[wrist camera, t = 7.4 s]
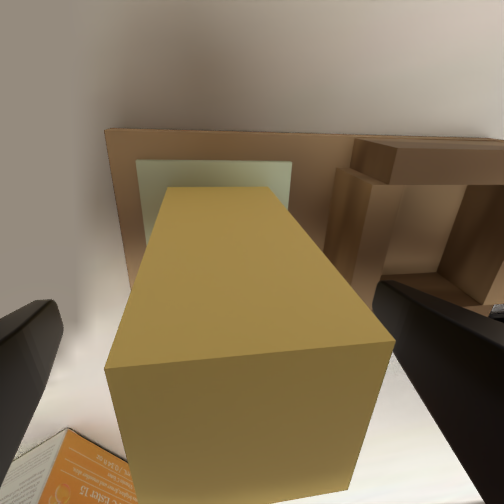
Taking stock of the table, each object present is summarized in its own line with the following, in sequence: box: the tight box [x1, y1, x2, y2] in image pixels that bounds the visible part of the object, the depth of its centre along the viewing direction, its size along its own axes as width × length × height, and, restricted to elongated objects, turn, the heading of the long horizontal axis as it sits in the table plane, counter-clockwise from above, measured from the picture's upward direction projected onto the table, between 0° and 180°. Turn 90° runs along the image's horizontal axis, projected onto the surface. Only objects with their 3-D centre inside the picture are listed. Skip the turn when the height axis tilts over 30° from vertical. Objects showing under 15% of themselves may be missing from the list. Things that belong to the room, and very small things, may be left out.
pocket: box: [323, 138, 504, 317], centre depth 13 cm, size 8×8×3 cm
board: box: [104, 128, 504, 290], centre depth 14 cm, size 8×17×1 cm, turn 88°
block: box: [104, 187, 396, 504], centre depth 9 cm, size 4×4×9 cm
